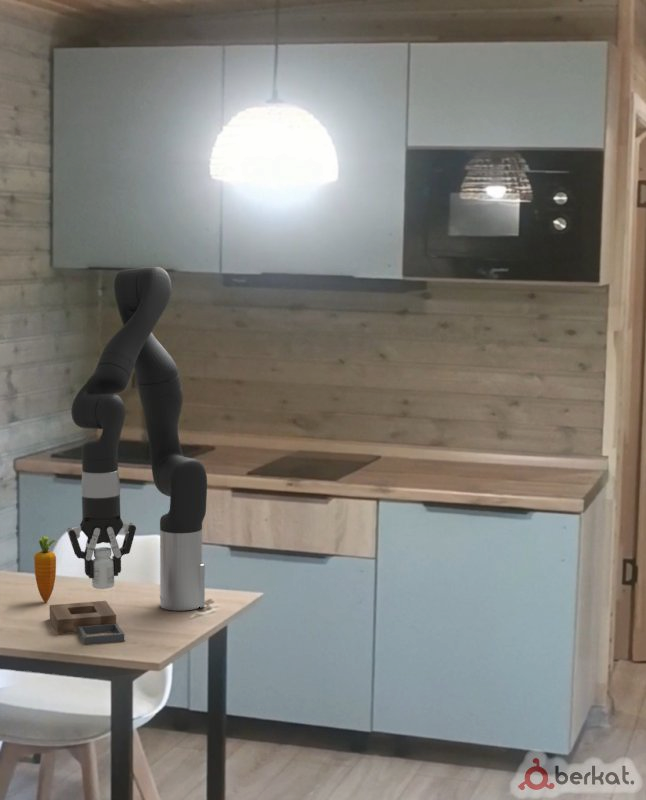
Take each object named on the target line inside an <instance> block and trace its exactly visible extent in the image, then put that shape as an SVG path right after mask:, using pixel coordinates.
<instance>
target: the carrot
mask: <svg viewBox="0 0 646 800" xmlns="http://www.w3.org/2000/svg"><path fill="white" fill-rule="evenodd" d="M48 541H49V542H48ZM54 542H56V540H55V539H54V538H53V539H51V540H49V536H45V535H43V536H42V537H41V538H40V539H38V543H39V547H40V549H41V551H38V552H36V553H35V554H34V557H33V558H34V559H33V561H34V575H35V581H36V585H37V587H36V588H37V589H38V593H39V595H40V597H41V600H42V601H43V602H44V603H47V602H48V601H50V598H51V596H52V594H53V590H54V586H55V581H56V576H57V575H56V573H57V557H56V554H55V552H54V551H50V550H49V549H50V547H51V546H52V544H53V543H54Z"/></svg>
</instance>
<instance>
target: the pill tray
mask: <svg viewBox="0 0 646 800" xmlns="http://www.w3.org/2000/svg"><path fill="white" fill-rule="evenodd" d="M113 632H114V633H113ZM103 633H107V634H103ZM77 634H78V636H79V638H80V639H81V642H82V643H83V645H85V646H87V645H98V644H109V643H120V642H121V643H122V642H125V633H124V631H123V630H122V628H121V627H120V625H119V624H118V623H116V624H105V625H93V626H80V627H78V633H77ZM93 634H96V635H93Z"/></svg>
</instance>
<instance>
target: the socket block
mask: <svg viewBox="0 0 646 800" xmlns="http://www.w3.org/2000/svg"><path fill="white" fill-rule="evenodd" d="M49 621H50V622H51V624H52V626H53V629H54V630H55V632H56V633H57V635H65V634H78V627H80V626H93V625H105V624H117V615H116V613H115V611H114V610H113V608H112V607H111V606H110V605H109V603H108V601H106V600H98V601H97V600H96V601H85V602H71V603H60V604H58V603H57V604H49Z"/></svg>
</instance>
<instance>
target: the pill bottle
mask: <svg viewBox="0 0 646 800" xmlns="http://www.w3.org/2000/svg"><path fill="white" fill-rule="evenodd" d="M93 557H94V559H92V560H93V578H91V583H92V585H91V586H92V587H93V588H94V589H97V590H105V589H110V588H113V587H114V586H115V576H114V561H113V559H112V558H111V557H112V549H111V547H106V546H102V547H95V550H94V552H93Z"/></svg>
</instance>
